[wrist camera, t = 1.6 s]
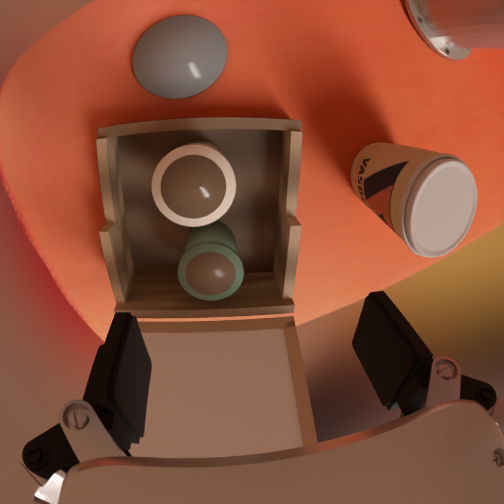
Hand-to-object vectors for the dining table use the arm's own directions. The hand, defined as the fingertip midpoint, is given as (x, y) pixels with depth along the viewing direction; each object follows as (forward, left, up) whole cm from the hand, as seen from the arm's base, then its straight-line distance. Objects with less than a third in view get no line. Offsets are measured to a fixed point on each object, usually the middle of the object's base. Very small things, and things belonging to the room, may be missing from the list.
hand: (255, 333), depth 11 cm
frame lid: (+14, -3, -4) cm, 15 cm away
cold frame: (+1, -3, -20) cm, 20 cm away
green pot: (+5, -2, -19) cm, 20 cm away
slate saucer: (-14, -5, -20) cm, 25 cm away
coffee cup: (-3, +17, -20) cm, 26 cm away
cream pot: (-3, -3, -19) cm, 19 cm away
